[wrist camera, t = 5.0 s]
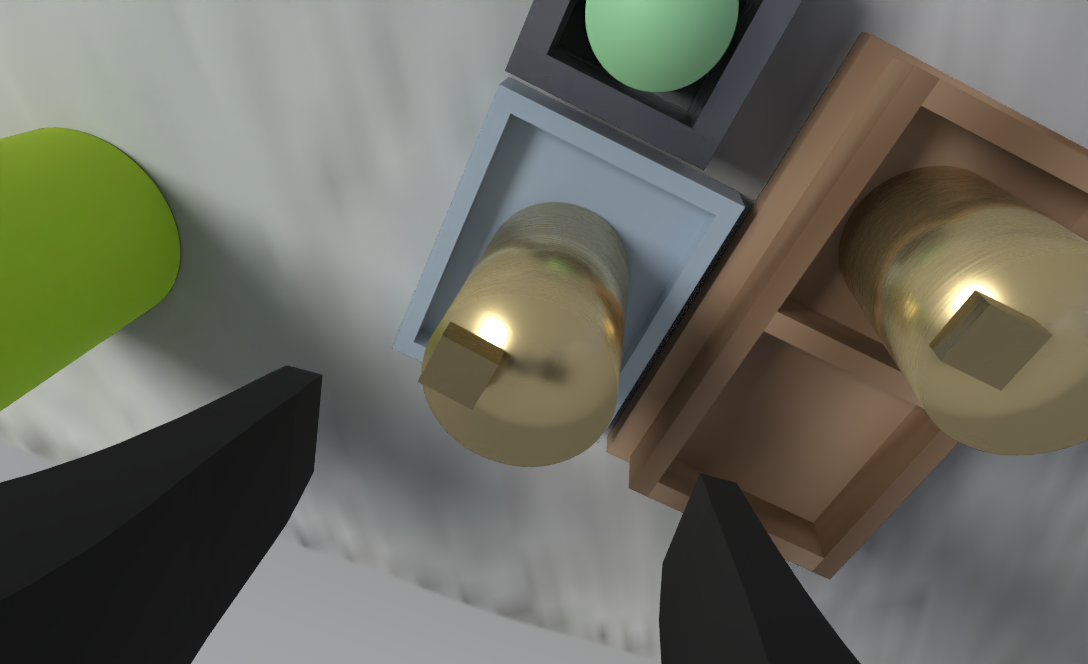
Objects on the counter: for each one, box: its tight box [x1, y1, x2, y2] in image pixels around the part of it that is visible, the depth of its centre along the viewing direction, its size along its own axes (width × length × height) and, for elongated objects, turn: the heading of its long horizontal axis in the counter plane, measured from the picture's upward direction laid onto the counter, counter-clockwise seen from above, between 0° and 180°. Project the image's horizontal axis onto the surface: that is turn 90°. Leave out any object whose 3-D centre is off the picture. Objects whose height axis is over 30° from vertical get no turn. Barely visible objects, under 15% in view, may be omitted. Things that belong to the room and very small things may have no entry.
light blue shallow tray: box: [392, 77, 745, 443], centre depth 20 cm, size 7×8×1 cm
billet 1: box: [418, 202, 631, 467], centre depth 17 cm, size 4×4×7 cm
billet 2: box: [838, 166, 1088, 455], centre depth 15 cm, size 4×4×7 cm
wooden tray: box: [606, 32, 1088, 579], centre depth 19 cm, size 8×13×2 cm, turn 155°
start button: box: [585, 0, 739, 92], centre depth 16 cm, size 3×3×3 cm
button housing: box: [505, 0, 802, 170], centre depth 16 cm, size 5×5×2 cm
